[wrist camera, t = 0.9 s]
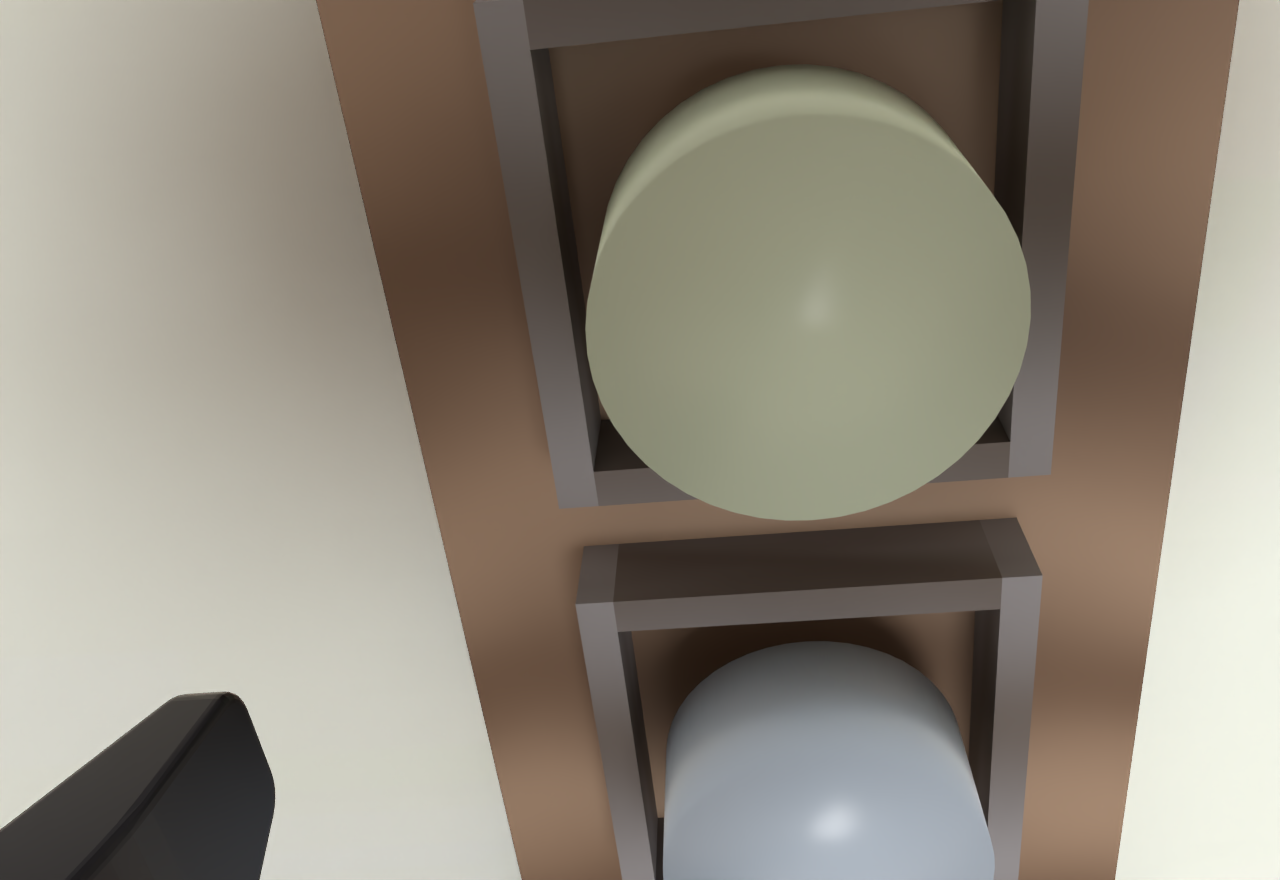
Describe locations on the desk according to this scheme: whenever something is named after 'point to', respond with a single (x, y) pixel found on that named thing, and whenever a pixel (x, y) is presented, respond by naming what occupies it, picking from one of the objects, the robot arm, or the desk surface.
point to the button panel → (767, 548)
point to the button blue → (820, 773)
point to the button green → (803, 296)
